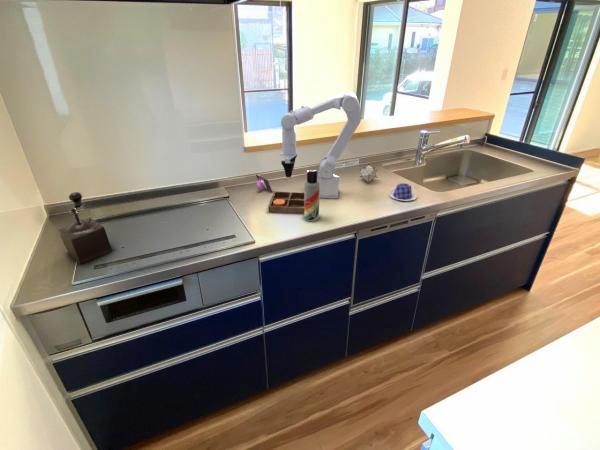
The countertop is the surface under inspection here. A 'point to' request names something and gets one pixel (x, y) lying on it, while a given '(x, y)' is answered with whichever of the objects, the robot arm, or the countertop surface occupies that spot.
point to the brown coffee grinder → (84, 235)
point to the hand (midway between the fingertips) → (289, 173)
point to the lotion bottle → (311, 196)
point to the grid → (288, 202)
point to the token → (279, 202)
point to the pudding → (403, 192)
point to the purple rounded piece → (261, 184)
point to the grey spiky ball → (368, 173)
